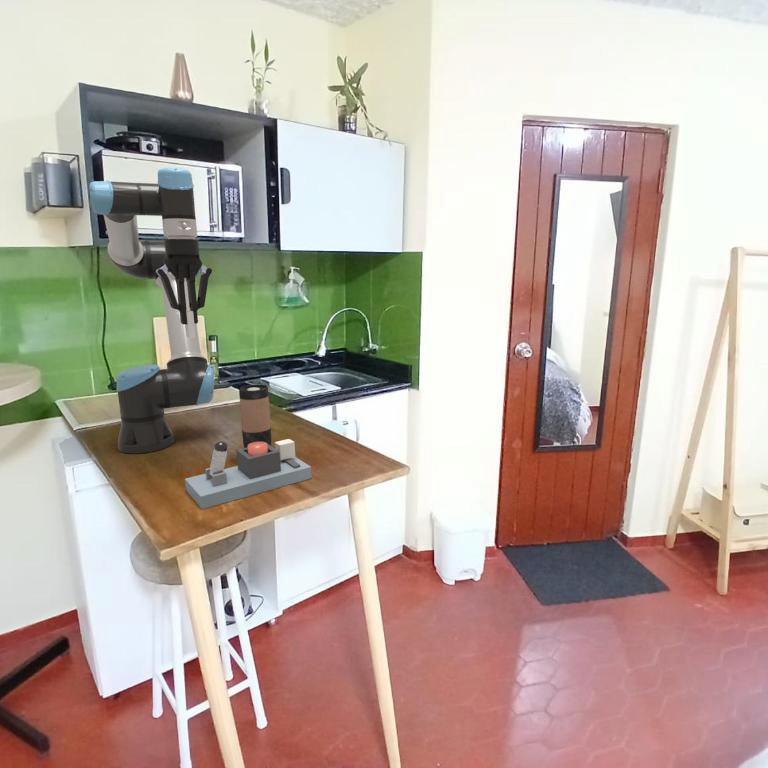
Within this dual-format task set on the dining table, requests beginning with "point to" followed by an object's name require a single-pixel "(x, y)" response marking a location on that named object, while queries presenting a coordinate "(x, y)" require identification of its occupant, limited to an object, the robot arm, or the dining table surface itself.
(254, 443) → the button
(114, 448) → the dining table surface
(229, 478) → the panel
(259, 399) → the travel mug
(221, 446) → the lever
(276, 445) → the slider
